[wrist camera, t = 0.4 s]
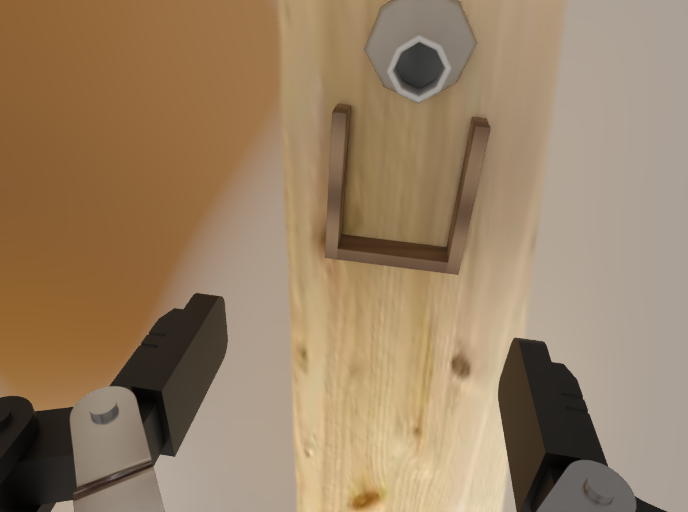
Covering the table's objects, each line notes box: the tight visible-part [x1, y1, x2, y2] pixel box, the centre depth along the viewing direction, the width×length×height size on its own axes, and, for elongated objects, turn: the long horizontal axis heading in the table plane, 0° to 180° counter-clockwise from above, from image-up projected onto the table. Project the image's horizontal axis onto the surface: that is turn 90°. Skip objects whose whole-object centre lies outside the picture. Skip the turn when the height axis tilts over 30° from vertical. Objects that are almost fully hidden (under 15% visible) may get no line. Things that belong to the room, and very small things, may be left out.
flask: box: [364, 0, 477, 103], centre depth 29 cm, size 7×7×10 cm
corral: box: [325, 104, 490, 275], centre depth 38 cm, size 12×11×2 cm
